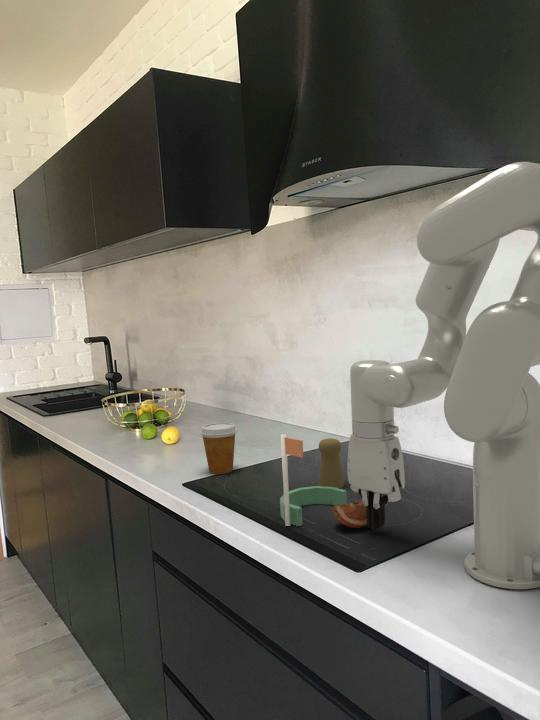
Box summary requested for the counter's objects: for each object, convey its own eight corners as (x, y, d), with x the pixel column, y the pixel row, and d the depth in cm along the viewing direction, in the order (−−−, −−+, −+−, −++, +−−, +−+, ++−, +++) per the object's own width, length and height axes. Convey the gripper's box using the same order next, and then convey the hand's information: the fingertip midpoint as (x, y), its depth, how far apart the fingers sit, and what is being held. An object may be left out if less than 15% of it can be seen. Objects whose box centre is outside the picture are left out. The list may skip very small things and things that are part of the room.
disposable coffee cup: (232, 464, 161) (230, 420, 160) (243, 472, 152) (241, 427, 151) (199, 469, 158) (196, 425, 157) (208, 478, 149) (205, 431, 148)
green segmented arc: (358, 510, 120) (355, 423, 119) (304, 533, 110) (299, 438, 108) (315, 497, 130) (312, 417, 128) (261, 517, 119) (256, 430, 117)
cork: (349, 484, 138) (347, 438, 137) (334, 490, 134) (332, 443, 133) (328, 479, 142) (326, 435, 141) (313, 486, 138) (311, 440, 137)
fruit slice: (343, 536, 108) (342, 510, 107) (325, 524, 114) (324, 499, 113) (381, 527, 111) (380, 501, 111) (362, 516, 117) (361, 492, 117)
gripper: (420, 430, 103) (422, 531, 105) (354, 420, 114) (357, 511, 116) (394, 438, 98) (397, 544, 100) (328, 427, 109) (332, 522, 111)
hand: (375, 526), depth 108 cm, fingers closed
